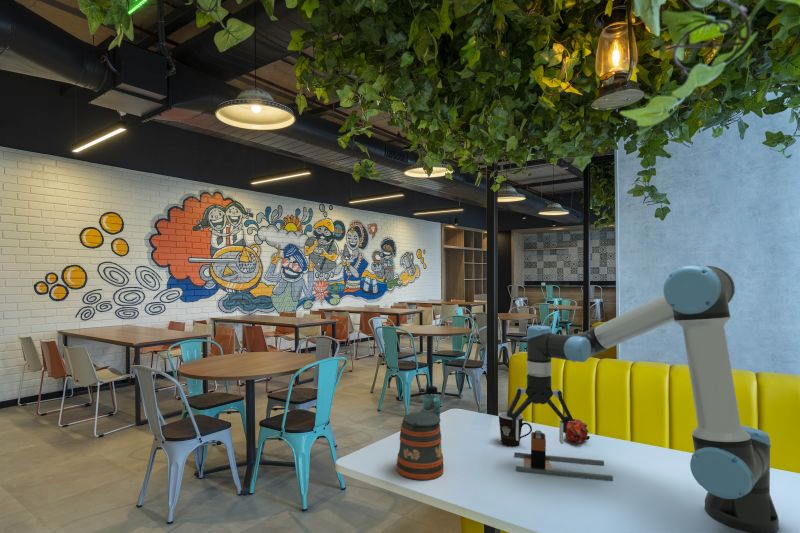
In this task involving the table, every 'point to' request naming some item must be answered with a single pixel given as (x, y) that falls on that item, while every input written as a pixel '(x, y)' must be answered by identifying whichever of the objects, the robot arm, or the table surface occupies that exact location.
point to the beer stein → (421, 445)
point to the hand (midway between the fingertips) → (539, 440)
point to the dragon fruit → (576, 431)
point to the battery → (538, 449)
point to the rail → (559, 472)
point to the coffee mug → (510, 430)
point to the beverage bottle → (436, 400)
